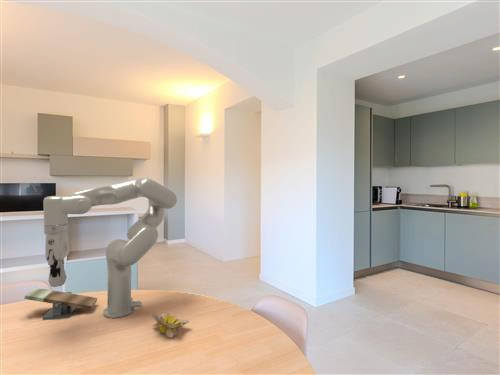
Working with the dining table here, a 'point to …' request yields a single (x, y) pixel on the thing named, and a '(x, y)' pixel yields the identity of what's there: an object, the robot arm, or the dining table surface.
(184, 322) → the decorative flower
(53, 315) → the beam stand
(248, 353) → the dining table surface
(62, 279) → the salt shaker
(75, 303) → the balance beam
